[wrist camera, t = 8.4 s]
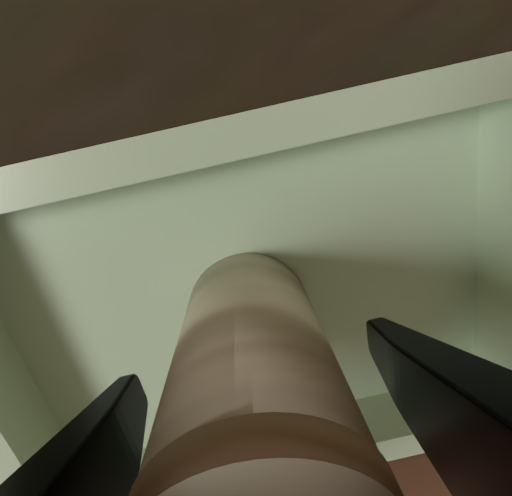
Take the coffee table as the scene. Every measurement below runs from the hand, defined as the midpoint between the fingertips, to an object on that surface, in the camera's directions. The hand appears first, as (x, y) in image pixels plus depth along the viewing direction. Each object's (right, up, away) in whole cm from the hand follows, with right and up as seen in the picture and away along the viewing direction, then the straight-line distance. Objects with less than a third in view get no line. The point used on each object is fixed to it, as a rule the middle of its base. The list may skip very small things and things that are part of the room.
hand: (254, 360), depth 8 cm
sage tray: (0, +1, +3) cm, 3 cm away
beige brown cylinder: (0, +1, +3) cm, 3 cm away
